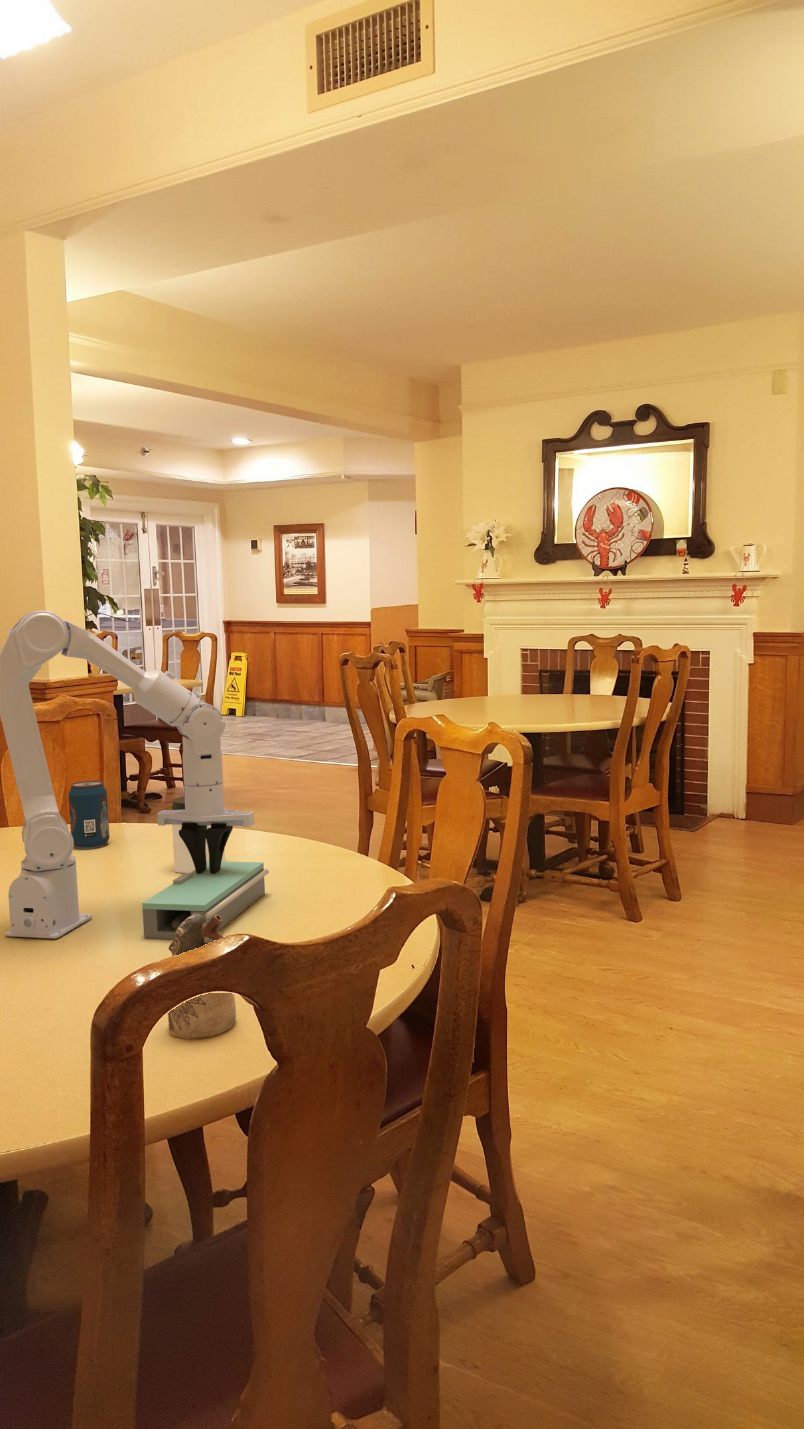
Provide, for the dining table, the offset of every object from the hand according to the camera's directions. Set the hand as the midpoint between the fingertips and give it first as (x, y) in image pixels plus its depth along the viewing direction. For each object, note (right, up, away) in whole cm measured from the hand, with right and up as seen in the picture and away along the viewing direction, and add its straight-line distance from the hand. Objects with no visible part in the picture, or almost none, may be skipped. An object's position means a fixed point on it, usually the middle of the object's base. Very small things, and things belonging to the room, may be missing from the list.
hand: (208, 873), depth 148 cm
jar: (-6, -3, +21) cm, 22 cm away
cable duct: (+1, -5, -5) cm, 7 cm away
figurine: (+8, -9, -43) cm, 45 cm away
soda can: (-30, -1, +40) cm, 50 cm away
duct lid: (+1, -1, -5) cm, 5 cm away
